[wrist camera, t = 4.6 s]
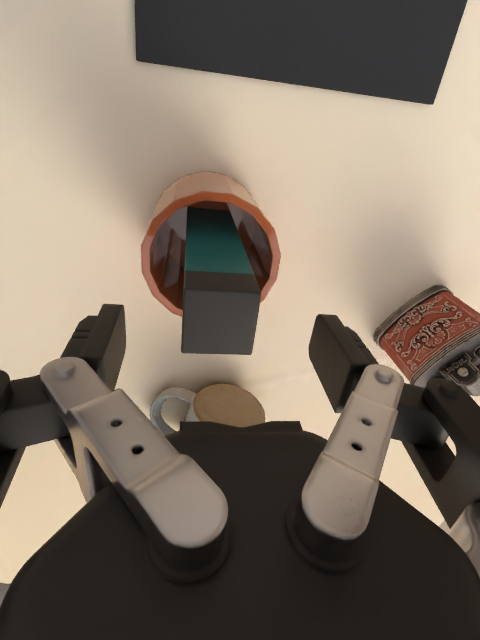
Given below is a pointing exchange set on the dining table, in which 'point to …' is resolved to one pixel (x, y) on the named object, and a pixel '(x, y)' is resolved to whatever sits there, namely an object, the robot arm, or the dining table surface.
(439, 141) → the dining table surface
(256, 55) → the mat
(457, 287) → the dining table surface
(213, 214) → the block
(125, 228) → the dining table surface
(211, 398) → the ceramic mug
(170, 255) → the pen cup
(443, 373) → the lighter
